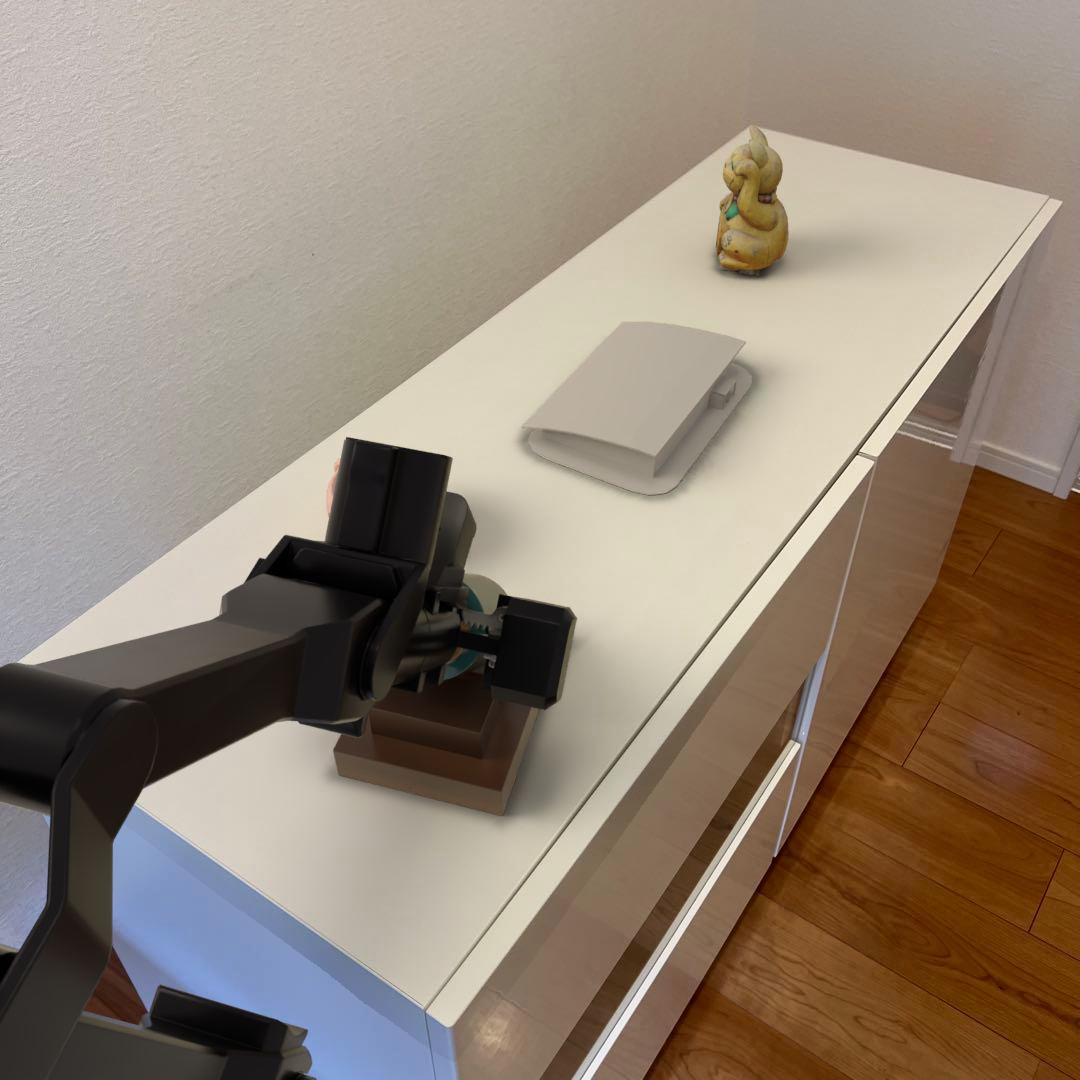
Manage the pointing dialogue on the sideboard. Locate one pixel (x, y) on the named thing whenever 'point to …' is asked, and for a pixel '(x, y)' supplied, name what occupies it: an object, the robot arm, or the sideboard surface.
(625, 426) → the grey flat folded piece
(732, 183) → the decorative figurine
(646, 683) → the sideboard surface
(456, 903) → the sideboard surface
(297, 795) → the sideboard surface
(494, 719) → the stand
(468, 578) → the jar
